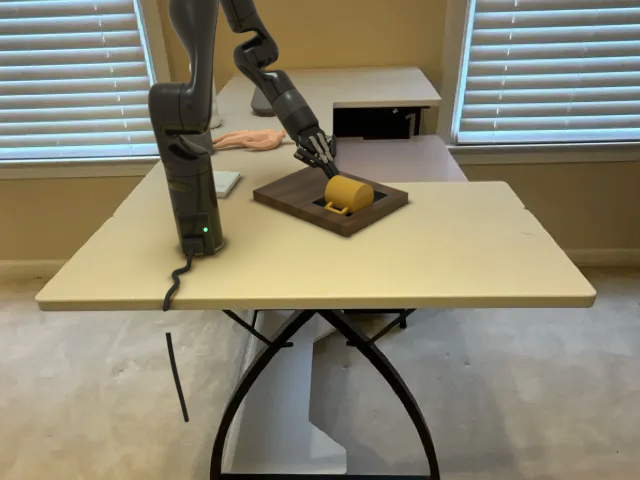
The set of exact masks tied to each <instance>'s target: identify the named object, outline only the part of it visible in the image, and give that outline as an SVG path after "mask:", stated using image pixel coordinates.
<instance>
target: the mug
mask: <svg viewBox="0 0 640 480" xmlns="http://www.w3.org/2000/svg"><path fill="white" fill-rule="evenodd" d="M373 198H374V192H373V189H372V187H371V186H370V185H369V184H365V183H362V182H359V181H356V180H353V179H350V178H347V177H344V176H341V175H336V176H334V177H333V178H332V179H331V180H330V181H329V182H328V184H327V186H326V189H325V201H326V203H327V205H326V206H325V207H324V208H326V209H329V210H331V211H334V212H337V213H339V214H342V215H346V214H347V213H349V214H354V213H356V212H358V211H360V210H362V209H364V208H365V207H367V206H369V205H371V204H372V203H373ZM332 207H333V208H336V209H338V210H341V211H338V210H336V209H333V208H332Z"/></svg>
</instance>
